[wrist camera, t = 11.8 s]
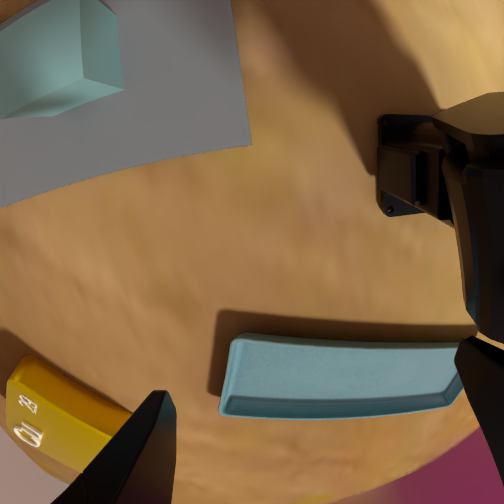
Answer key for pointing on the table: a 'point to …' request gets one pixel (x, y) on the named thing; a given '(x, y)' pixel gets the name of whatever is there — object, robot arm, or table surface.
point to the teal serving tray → (336, 378)
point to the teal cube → (59, 58)
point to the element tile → (59, 414)
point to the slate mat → (137, 101)
